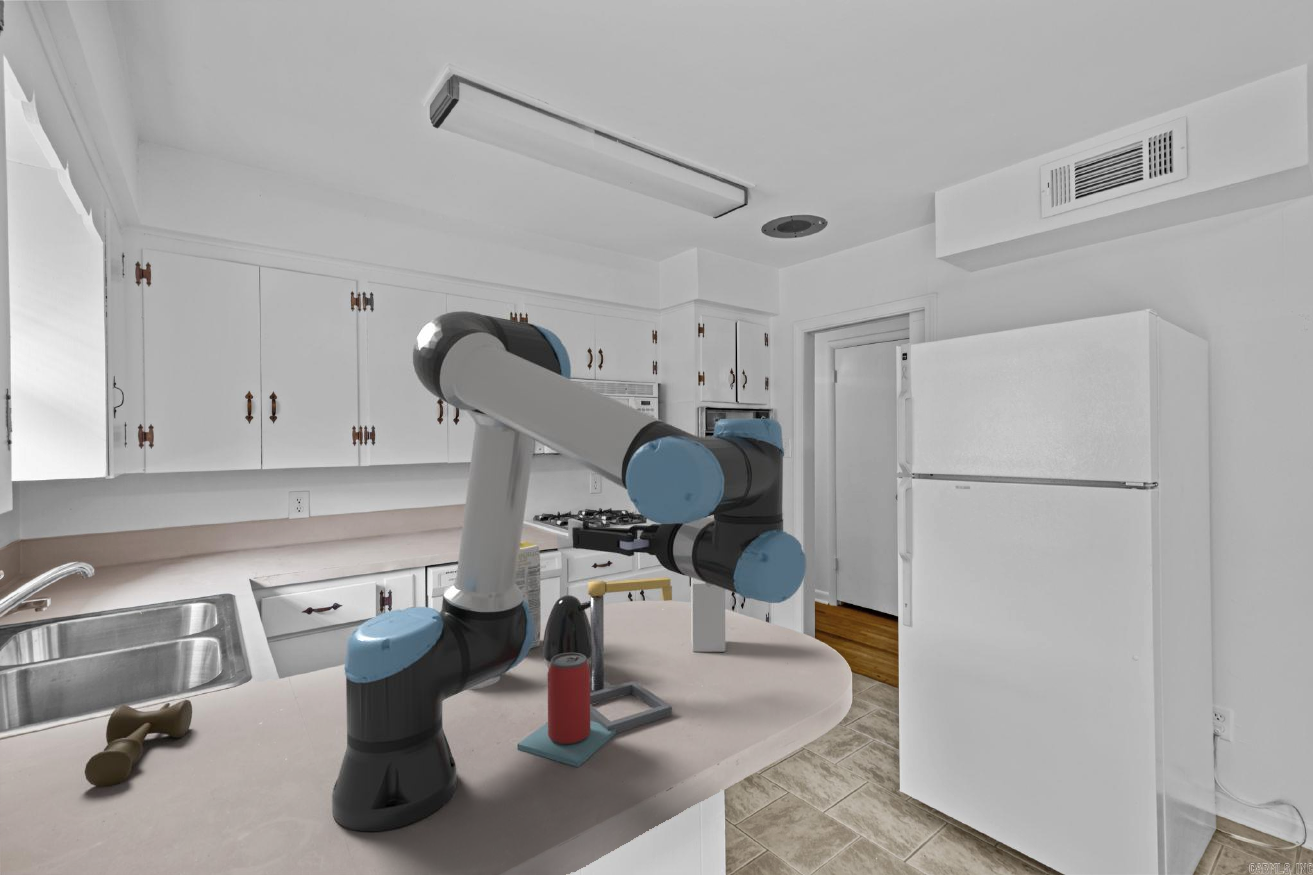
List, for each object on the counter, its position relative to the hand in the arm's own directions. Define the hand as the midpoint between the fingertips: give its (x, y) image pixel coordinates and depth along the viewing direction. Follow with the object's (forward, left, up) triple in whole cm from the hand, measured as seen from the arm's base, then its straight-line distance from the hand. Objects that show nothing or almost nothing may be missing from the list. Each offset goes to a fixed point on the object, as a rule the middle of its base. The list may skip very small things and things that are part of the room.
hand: (610, 524), depth 92 cm
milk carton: (+45, +2, -34) cm, 57 cm away
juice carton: (+26, +40, -34) cm, 59 cm away
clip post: (+15, +12, -34) cm, 39 cm away
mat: (-2, +7, -34) cm, 35 cm away
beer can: (-2, +6, -33) cm, 34 cm away
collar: (+10, +4, -34) cm, 36 cm away
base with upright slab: (+9, +36, -34) cm, 51 cm away
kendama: (-33, +63, -34) cm, 79 cm away
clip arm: (+19, +7, -18) cm, 27 cm away
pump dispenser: (+20, +22, -34) cm, 46 cm away
